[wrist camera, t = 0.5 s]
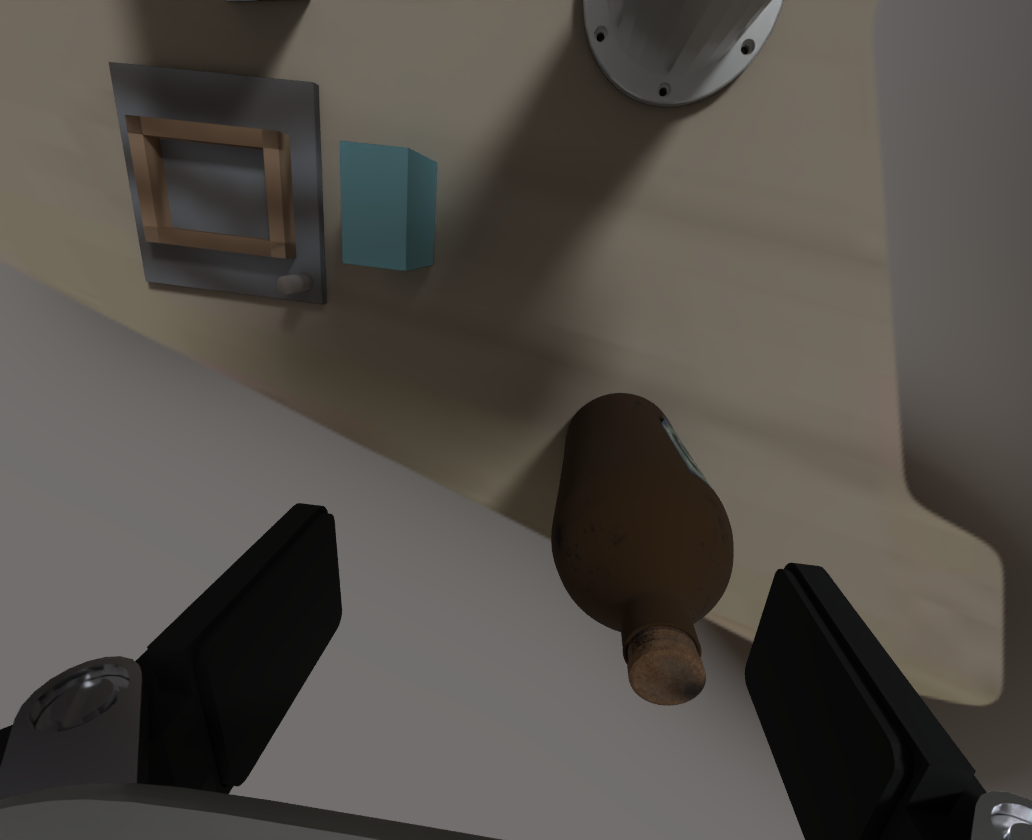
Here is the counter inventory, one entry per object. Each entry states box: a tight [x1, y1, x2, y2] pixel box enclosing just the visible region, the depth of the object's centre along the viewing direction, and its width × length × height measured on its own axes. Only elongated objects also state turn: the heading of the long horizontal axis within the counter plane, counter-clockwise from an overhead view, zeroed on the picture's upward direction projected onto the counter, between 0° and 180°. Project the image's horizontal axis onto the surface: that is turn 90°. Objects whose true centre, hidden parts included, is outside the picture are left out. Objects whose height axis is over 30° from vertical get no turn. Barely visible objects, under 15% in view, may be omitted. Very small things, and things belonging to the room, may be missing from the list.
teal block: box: [340, 141, 437, 271], centre depth 35 cm, size 8×4×7 cm, turn 174°
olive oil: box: [551, 393, 733, 705], centre depth 32 cm, size 11×11×25 cm
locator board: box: [109, 62, 326, 304], centre depth 38 cm, size 16×16×4 cm
